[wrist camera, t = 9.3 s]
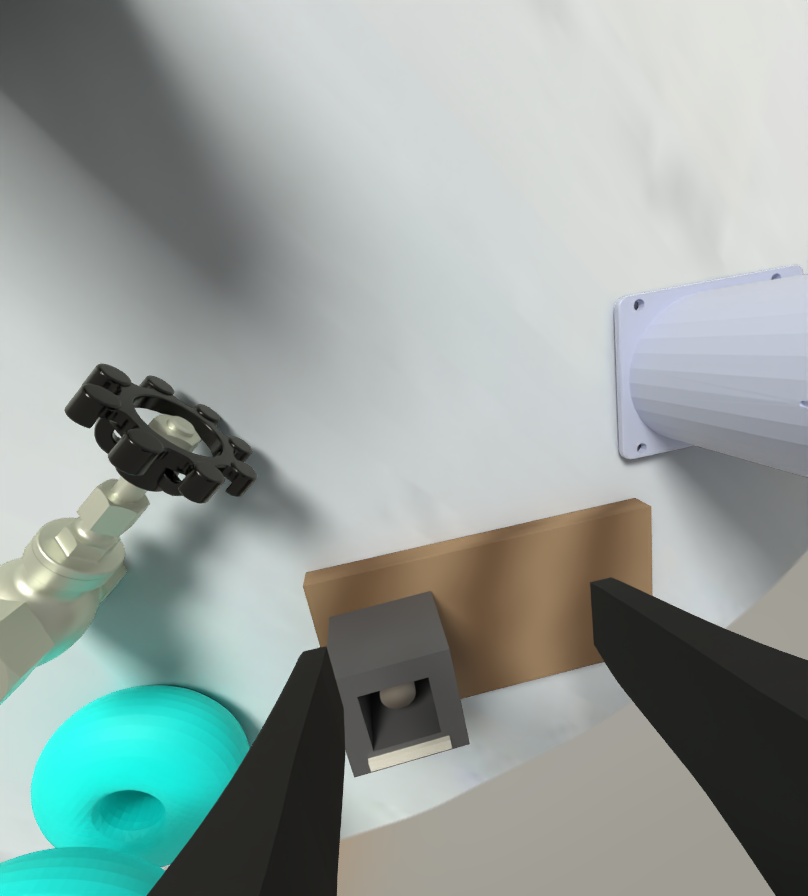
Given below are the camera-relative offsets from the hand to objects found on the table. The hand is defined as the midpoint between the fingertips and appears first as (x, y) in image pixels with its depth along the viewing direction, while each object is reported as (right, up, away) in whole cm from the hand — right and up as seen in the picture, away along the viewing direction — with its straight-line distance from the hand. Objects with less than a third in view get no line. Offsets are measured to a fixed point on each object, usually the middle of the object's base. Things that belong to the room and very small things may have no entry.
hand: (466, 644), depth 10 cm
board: (+3, -4, +12) cm, 12 cm away
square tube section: (-2, -5, +10) cm, 11 cm away
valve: (-14, +3, +8) cm, 17 cm away
